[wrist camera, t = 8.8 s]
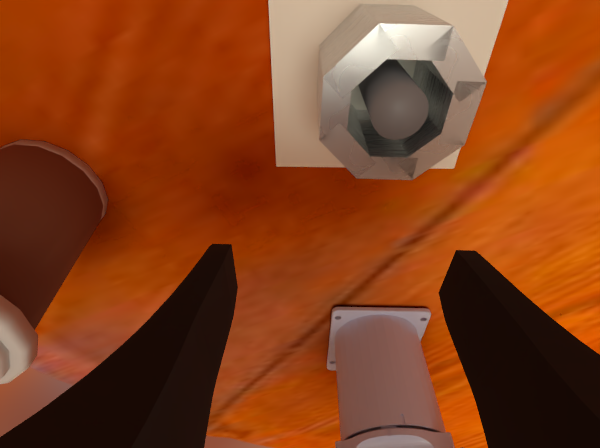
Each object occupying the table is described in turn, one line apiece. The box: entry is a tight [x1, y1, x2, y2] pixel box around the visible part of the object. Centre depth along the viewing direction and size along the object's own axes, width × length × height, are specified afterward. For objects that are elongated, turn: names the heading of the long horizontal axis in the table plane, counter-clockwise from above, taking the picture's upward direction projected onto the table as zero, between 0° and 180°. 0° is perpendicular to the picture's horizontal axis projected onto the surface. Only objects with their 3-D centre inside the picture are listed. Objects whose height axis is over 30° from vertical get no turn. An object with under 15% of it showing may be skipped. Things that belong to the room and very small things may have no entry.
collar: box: [317, 4, 487, 180], centre depth 14 cm, size 6×6×5 cm
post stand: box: [268, 0, 508, 169], centre depth 14 cm, size 10×10×6 cm
